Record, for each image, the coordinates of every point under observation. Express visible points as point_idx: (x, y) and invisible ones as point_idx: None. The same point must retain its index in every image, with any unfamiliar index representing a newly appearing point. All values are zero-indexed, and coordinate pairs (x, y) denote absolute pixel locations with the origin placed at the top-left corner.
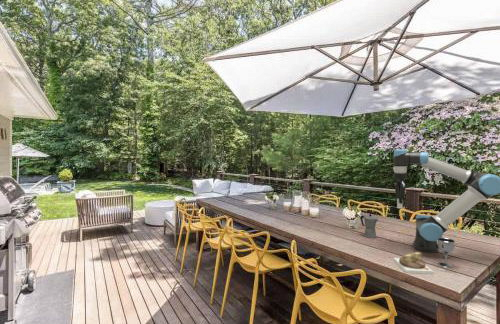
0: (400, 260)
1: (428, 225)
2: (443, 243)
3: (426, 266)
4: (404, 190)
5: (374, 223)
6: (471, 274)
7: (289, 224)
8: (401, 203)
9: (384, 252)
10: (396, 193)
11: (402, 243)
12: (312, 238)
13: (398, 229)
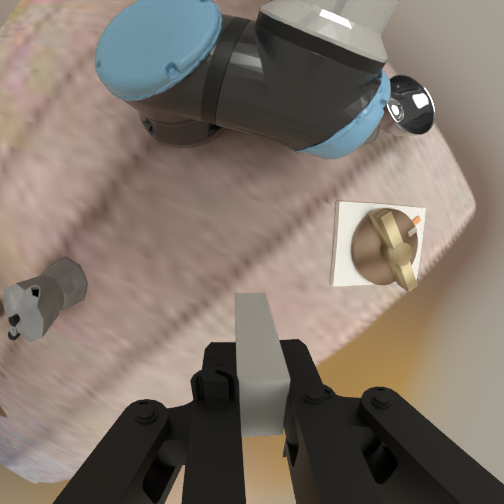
0: (383, 284)
1: (377, 123)
2: (423, 131)
3: (399, 208)
4: (500, 493)
5: (46, 293)
6: None
7: (60, 445)
8: (298, 346)
9: (253, 289)
10: (164, 497)
11: (128, 173)
12: None
13: None
